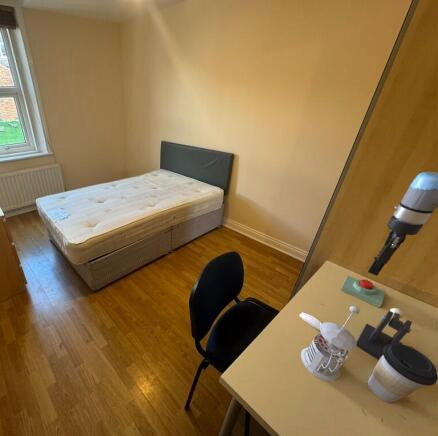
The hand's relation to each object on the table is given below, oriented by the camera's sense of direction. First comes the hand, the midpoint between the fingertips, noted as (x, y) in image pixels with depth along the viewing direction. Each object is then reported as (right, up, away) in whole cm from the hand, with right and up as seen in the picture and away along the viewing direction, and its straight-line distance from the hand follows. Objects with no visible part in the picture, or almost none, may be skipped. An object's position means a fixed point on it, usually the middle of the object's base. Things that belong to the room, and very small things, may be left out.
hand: (372, 272), depth 87 cm
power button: (0, -6, +3) cm, 7 cm away
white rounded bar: (-28, -16, -7) cm, 33 cm away
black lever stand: (-12, -20, -14) cm, 27 cm away
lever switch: (-8, -12, -15) cm, 21 cm away
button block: (0, -9, +5) cm, 10 cm away
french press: (-34, -23, -19) cm, 46 cm away
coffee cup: (-21, -26, -24) cm, 42 cm away
